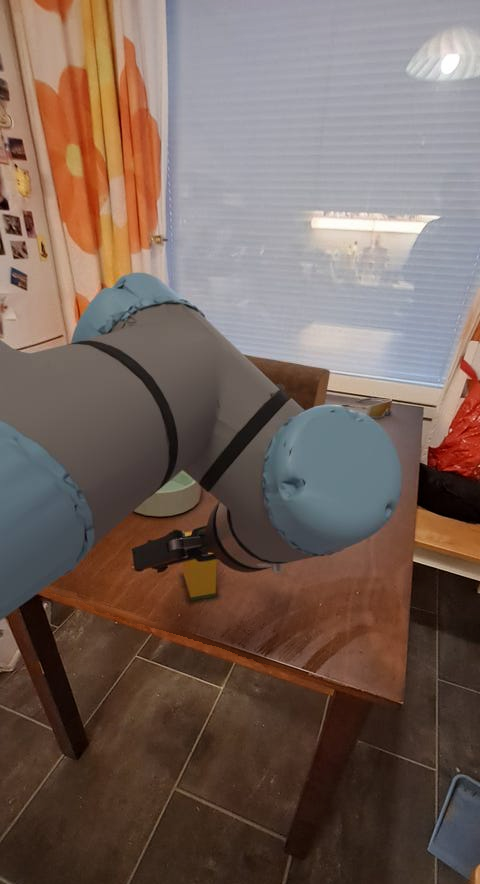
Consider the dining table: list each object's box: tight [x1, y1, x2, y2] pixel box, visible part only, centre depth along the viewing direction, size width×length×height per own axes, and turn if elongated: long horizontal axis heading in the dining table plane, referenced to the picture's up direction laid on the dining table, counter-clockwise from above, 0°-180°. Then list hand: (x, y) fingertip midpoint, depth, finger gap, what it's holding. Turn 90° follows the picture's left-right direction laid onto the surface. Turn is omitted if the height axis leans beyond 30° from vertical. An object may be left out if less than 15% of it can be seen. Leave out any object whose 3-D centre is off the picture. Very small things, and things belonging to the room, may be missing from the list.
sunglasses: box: [340, 397, 393, 419], centre depth 142 cm, size 14×15×5 cm
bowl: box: [133, 470, 202, 518], centre depth 88 cm, size 16×16×6 cm
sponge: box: [182, 531, 218, 602], centre depth 66 cm, size 4×6×9 cm, turn 17°
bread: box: [242, 353, 331, 411], centre depth 138 cm, size 14×34×14 cm, turn 65°
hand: (210, 554), depth 56 cm, fingers open, 13 cm apart
